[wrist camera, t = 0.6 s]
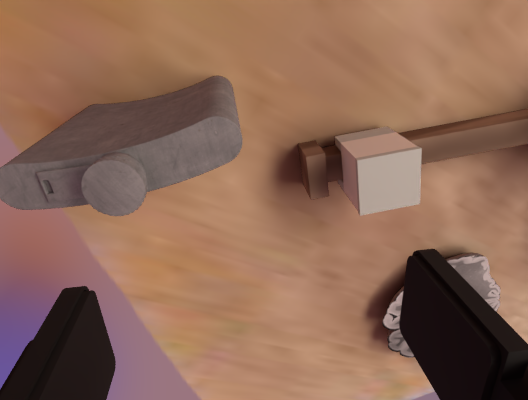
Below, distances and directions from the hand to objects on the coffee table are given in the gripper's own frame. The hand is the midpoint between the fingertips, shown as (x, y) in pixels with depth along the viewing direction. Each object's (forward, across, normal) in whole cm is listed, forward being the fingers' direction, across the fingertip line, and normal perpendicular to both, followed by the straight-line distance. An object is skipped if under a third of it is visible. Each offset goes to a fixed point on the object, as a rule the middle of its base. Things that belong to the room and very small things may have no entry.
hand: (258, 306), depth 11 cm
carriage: (+32, -15, +7) cm, 36 cm away
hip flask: (+32, +7, 0) cm, 33 cm away
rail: (+32, -24, +6) cm, 40 cm away
